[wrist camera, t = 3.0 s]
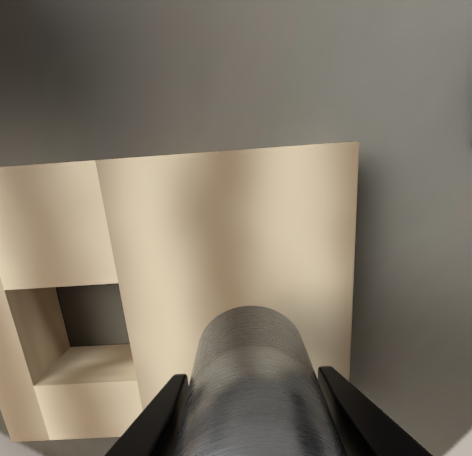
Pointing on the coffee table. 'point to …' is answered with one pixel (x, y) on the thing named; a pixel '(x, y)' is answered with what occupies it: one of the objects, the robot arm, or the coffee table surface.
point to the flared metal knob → (255, 392)
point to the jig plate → (165, 271)
